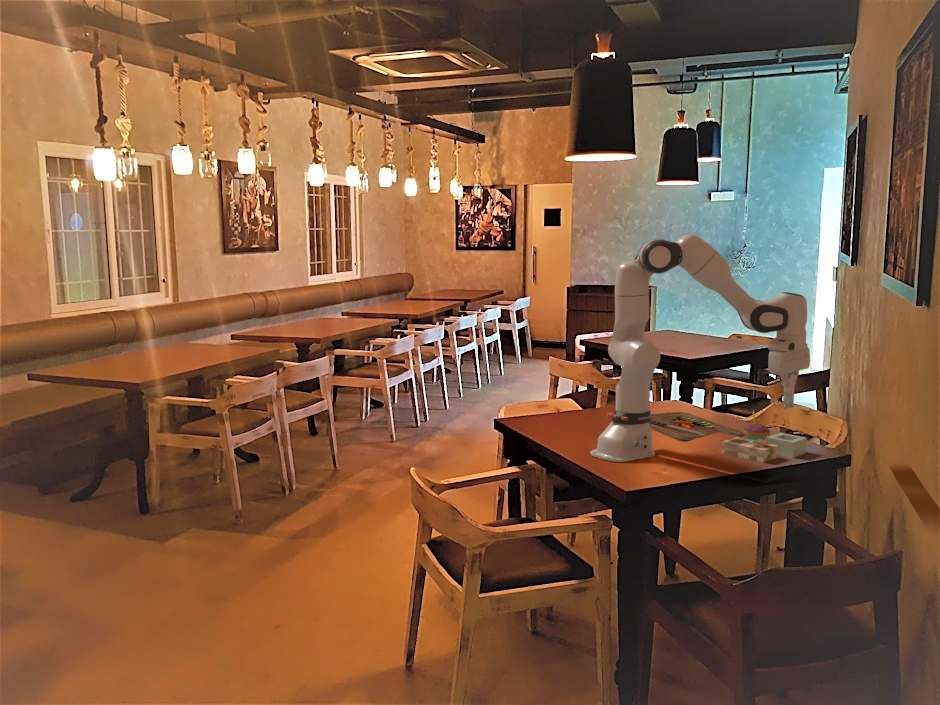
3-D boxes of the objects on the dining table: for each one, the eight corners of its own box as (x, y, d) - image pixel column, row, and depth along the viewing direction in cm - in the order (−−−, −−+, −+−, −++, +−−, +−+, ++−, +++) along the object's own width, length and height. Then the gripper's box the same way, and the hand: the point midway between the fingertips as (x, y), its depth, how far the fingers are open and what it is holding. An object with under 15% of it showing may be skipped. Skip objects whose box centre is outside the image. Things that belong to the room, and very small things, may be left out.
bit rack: (792, 460, 237) (793, 442, 236) (765, 455, 244) (766, 437, 243) (806, 455, 243) (807, 437, 242) (779, 450, 249) (780, 432, 249)
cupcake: (737, 442, 260) (738, 408, 259) (757, 440, 263) (758, 406, 261) (754, 448, 252) (755, 413, 251) (774, 445, 255) (776, 411, 253)
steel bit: (790, 408, 239) (791, 374, 237) (780, 406, 241) (782, 373, 240) (795, 406, 241) (796, 373, 239) (785, 405, 243) (787, 372, 242)
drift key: (762, 461, 235) (762, 443, 234) (751, 459, 237) (752, 441, 237) (768, 459, 237) (769, 441, 236) (758, 456, 240) (759, 439, 239)
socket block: (762, 465, 232) (763, 450, 231) (721, 456, 243) (722, 441, 242) (777, 460, 238) (778, 445, 237) (736, 451, 249) (737, 436, 248)
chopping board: (751, 438, 267) (751, 430, 267) (687, 445, 259) (687, 437, 259) (680, 413, 310) (680, 406, 309) (622, 418, 302) (623, 411, 301)
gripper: (797, 339, 247) (795, 380, 249) (765, 344, 234) (763, 387, 236) (816, 340, 242) (814, 382, 244) (784, 346, 229) (782, 390, 231)
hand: (789, 385), depth 240 cm, fingers closed on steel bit, 3 cm apart
